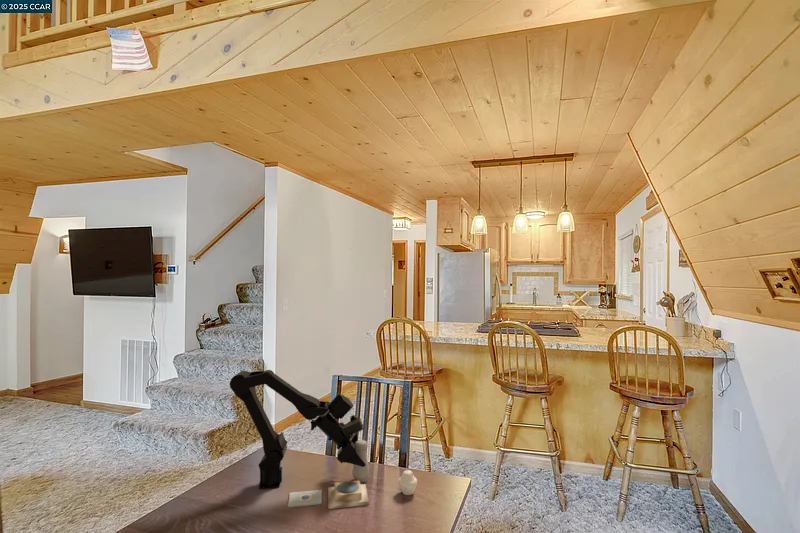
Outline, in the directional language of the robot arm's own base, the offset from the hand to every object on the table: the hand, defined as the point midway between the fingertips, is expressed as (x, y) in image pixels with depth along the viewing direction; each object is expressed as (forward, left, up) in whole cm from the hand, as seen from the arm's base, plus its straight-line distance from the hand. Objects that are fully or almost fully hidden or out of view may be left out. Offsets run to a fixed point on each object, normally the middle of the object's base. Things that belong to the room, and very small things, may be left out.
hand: (365, 460), depth 143 cm
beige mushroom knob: (-1, 0, -7) cm, 7 cm away
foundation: (-6, -10, -7) cm, 14 cm away
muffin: (+13, -11, -7) cm, 18 cm away
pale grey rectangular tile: (-19, -9, -7) cm, 22 cm away
